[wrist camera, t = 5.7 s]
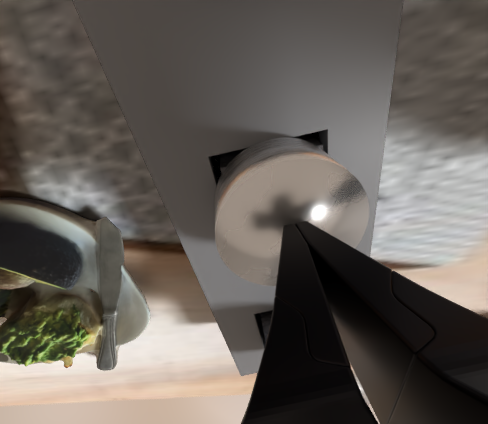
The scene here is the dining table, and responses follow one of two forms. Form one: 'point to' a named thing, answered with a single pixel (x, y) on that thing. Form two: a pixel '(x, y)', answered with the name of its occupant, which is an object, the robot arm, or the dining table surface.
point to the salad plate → (64, 286)
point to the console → (245, 109)
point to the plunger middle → (282, 202)
